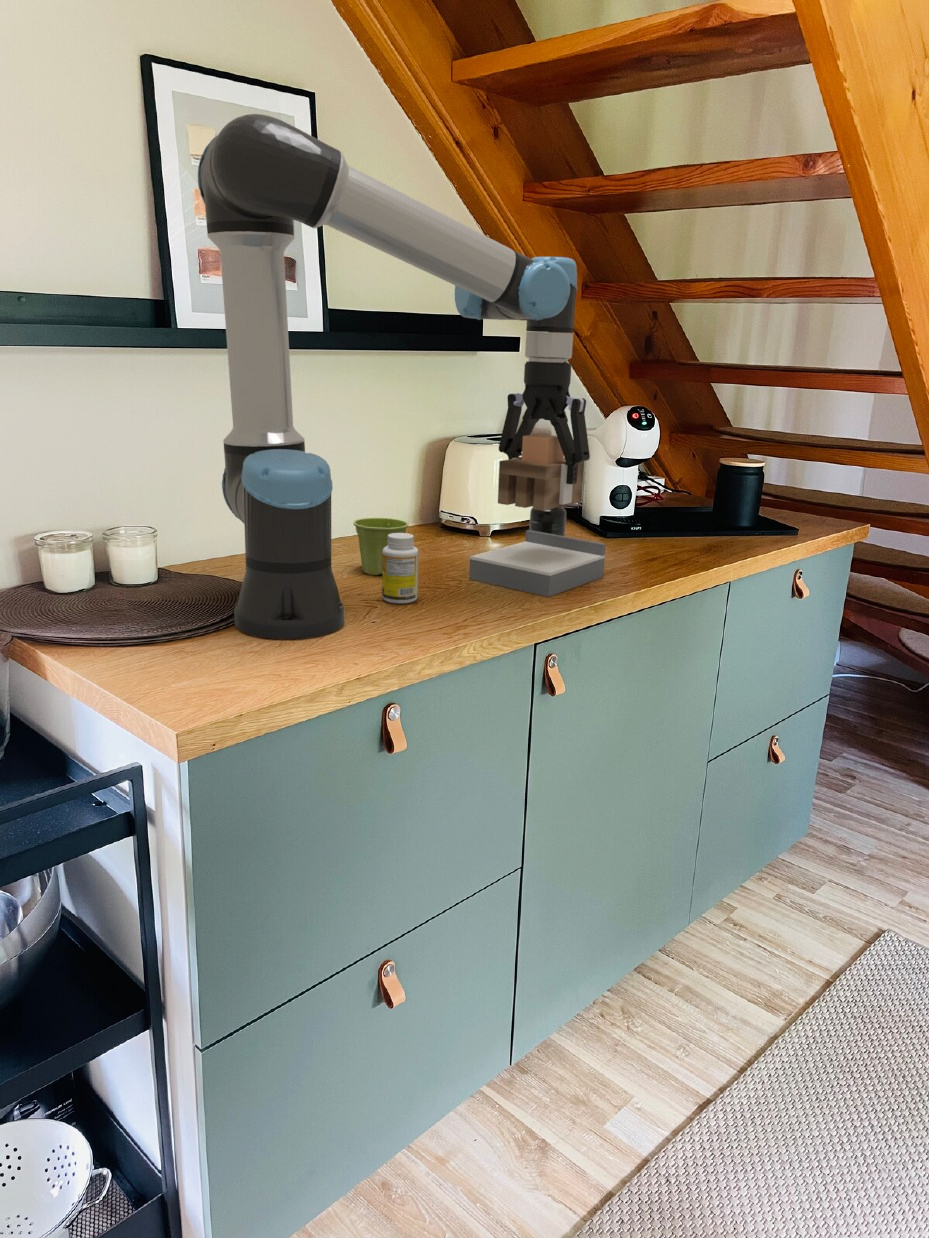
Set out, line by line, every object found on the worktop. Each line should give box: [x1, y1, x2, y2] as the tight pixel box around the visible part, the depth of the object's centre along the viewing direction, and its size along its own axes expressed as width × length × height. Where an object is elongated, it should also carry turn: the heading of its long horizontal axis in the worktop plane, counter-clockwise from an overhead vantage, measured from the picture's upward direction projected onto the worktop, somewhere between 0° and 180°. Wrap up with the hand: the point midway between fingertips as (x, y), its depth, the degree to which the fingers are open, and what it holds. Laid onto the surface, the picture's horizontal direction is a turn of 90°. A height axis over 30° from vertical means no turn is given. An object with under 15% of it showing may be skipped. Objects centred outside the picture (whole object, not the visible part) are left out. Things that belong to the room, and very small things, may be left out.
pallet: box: [497, 458, 585, 511], centre depth 153 cm, size 12×9×7 cm
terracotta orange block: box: [521, 433, 564, 464], centre depth 151 cm, size 5×5×4 cm
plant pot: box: [352, 517, 410, 576], centre depth 157 cm, size 9×9×9 cm
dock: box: [468, 529, 607, 598], centre depth 157 cm, size 18×16×6 cm
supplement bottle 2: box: [528, 506, 567, 537], centre depth 175 cm, size 7×7×12 cm
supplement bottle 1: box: [381, 532, 420, 605], centre depth 141 cm, size 6×6×10 cm
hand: (540, 499), depth 154 cm, fingers closed on pallet, 9 cm apart
